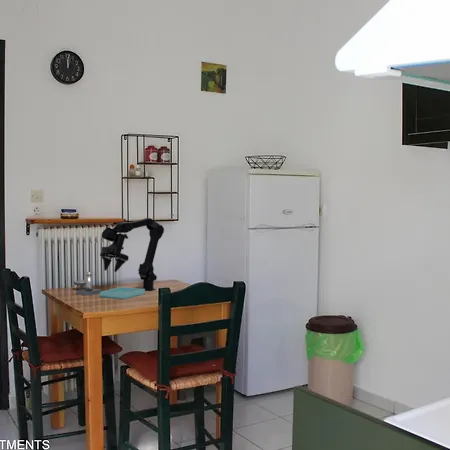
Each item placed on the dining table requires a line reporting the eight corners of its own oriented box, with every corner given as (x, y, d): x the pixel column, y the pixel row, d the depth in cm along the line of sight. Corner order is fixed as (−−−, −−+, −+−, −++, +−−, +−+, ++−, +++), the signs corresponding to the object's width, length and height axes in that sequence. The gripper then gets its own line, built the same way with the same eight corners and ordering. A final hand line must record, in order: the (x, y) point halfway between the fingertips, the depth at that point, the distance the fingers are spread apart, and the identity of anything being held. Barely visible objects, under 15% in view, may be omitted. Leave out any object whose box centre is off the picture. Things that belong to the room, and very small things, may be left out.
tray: (120, 292, 327) (120, 287, 327) (144, 294, 321) (144, 288, 321) (99, 297, 309) (99, 291, 309) (124, 299, 303) (124, 293, 303)
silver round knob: (79, 288, 342) (79, 279, 341) (91, 289, 338) (91, 280, 338) (70, 290, 334) (70, 281, 334) (82, 291, 330) (82, 282, 330)
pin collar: (87, 291, 328) (87, 288, 328) (101, 293, 324) (101, 289, 324) (76, 294, 319) (76, 290, 319) (90, 295, 315) (90, 291, 315)
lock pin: (88, 292, 325) (88, 271, 324) (94, 293, 323) (94, 272, 322) (83, 294, 320) (83, 272, 320) (89, 294, 319) (89, 273, 318)
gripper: (96, 239, 320) (88, 265, 316) (117, 240, 307) (108, 268, 304) (111, 244, 328) (104, 271, 324) (132, 246, 315) (124, 273, 312)
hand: (110, 271), depth 316 cm, fingers open, 9 cm apart
